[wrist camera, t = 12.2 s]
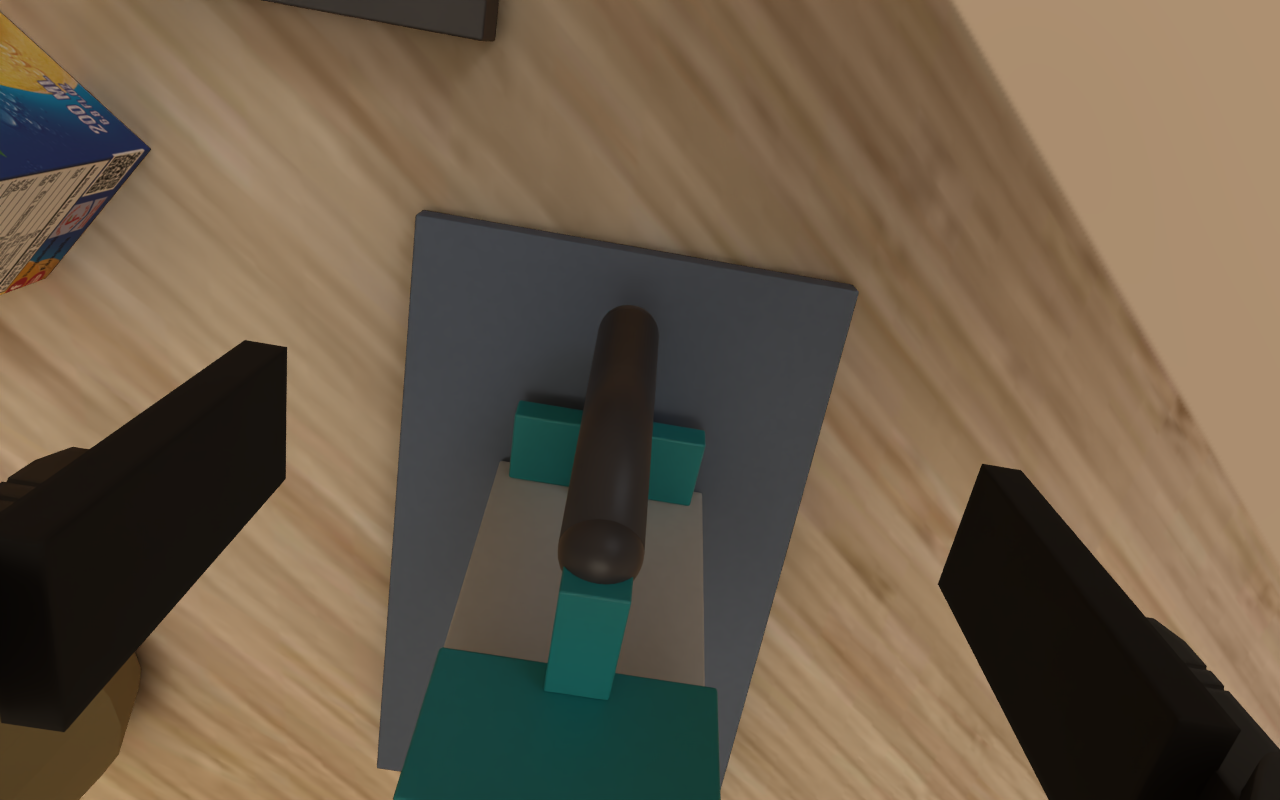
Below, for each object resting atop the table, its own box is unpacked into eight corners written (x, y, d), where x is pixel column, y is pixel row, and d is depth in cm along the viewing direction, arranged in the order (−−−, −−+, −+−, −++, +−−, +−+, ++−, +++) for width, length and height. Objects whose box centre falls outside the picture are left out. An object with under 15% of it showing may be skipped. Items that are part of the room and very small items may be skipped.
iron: (698, 954, 21) (803, 721, 15) (371, 910, 20) (363, 656, 15) (696, 514, 34) (752, 307, 29) (498, 483, 34) (517, 267, 28)
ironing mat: (853, 284, 31) (859, 291, 31) (712, 799, 41) (713, 816, 40) (422, 209, 31) (415, 214, 30) (382, 752, 40) (376, 768, 40)
